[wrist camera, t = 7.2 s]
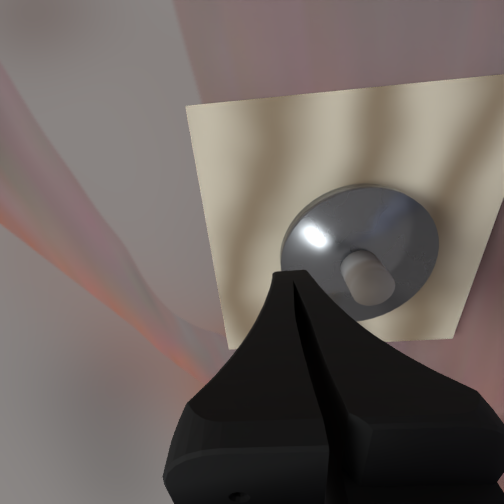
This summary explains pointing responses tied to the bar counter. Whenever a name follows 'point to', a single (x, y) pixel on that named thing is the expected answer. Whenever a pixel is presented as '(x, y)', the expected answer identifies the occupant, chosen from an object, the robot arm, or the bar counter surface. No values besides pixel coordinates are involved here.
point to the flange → (363, 242)
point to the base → (347, 173)
